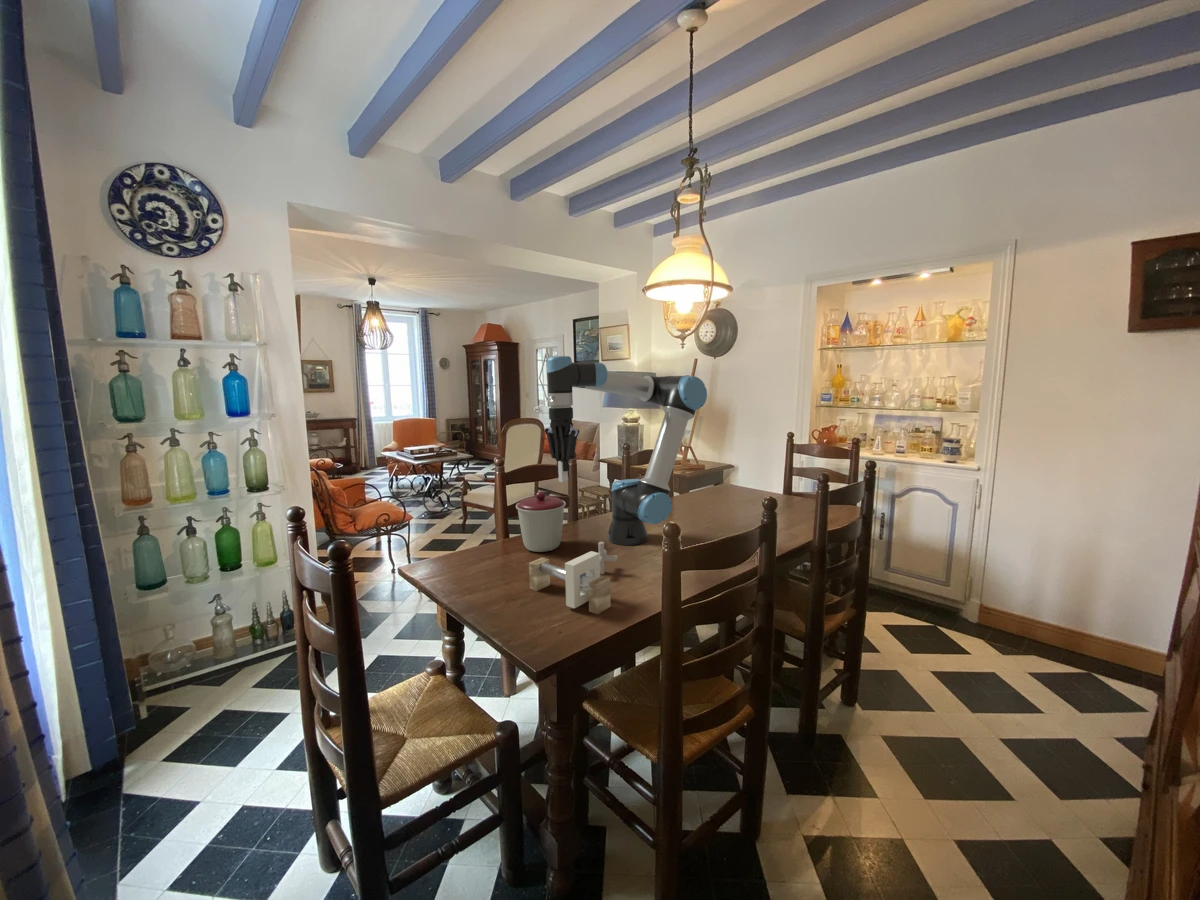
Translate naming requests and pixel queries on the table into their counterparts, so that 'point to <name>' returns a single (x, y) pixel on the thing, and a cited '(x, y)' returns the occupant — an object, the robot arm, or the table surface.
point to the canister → (541, 522)
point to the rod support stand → (597, 587)
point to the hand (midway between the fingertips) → (563, 480)
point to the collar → (572, 577)
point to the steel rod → (563, 573)
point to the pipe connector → (604, 557)
